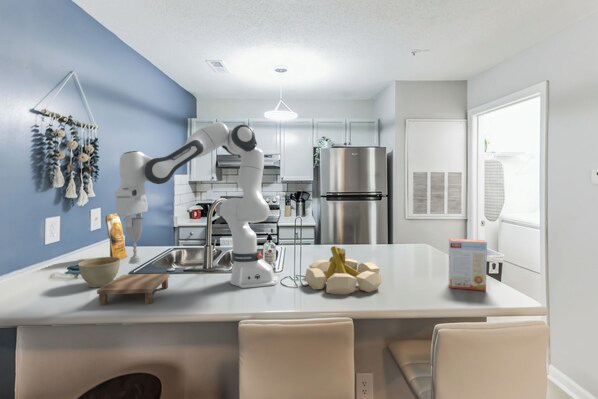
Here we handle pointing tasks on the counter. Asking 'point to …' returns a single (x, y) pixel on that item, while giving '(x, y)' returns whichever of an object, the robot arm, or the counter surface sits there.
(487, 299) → the counter surface
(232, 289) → the counter surface
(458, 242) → the cracker box
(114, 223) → the pancake mix bag
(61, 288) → the counter surface
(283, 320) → the counter surface
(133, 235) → the chalice
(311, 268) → the campfire
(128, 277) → the stool
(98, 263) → the planter bowl
